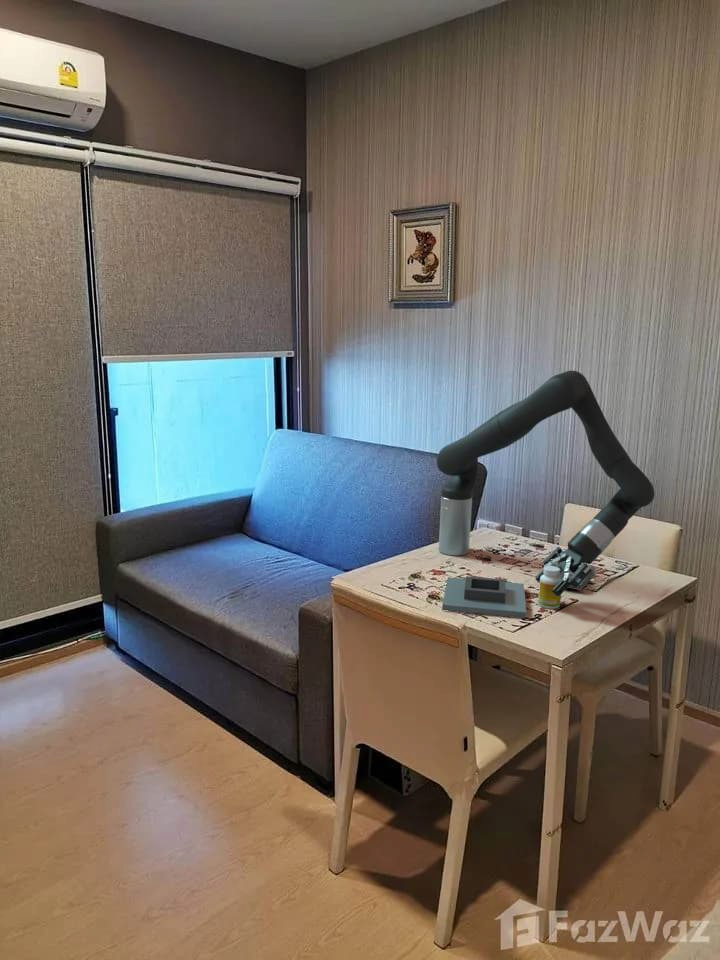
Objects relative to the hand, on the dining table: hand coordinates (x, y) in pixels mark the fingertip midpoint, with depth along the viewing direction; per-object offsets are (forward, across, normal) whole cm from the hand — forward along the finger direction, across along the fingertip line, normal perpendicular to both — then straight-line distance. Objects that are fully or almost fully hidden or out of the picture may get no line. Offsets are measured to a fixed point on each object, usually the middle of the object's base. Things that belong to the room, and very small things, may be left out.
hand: (546, 587), depth 185 cm
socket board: (+13, -7, -6) cm, 16 cm away
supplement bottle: (+3, 0, +4) cm, 5 cm away
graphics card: (-7, -15, +15) cm, 22 cm away
